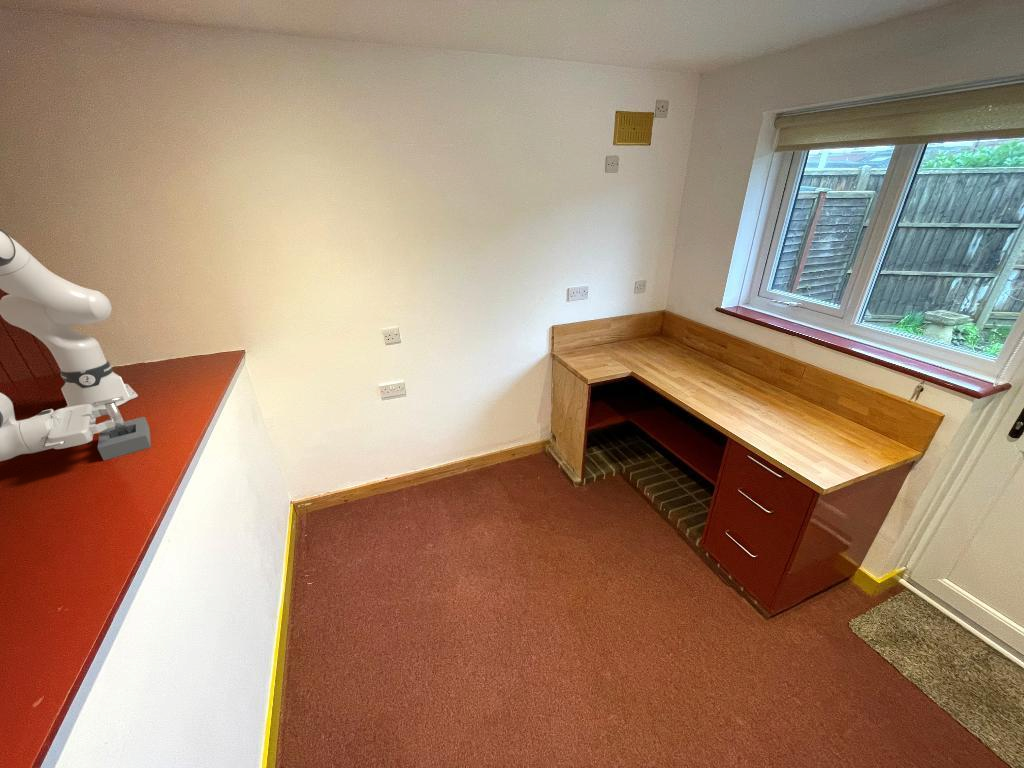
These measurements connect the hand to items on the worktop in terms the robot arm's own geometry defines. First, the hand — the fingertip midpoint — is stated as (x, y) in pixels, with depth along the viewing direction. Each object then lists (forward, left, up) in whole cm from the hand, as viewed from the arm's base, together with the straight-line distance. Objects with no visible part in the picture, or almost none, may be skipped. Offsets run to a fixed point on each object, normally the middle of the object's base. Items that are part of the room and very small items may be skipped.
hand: (115, 416), depth 116 cm
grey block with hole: (0, 0, -9) cm, 9 cm away
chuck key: (0, 0, -9) cm, 9 cm away
